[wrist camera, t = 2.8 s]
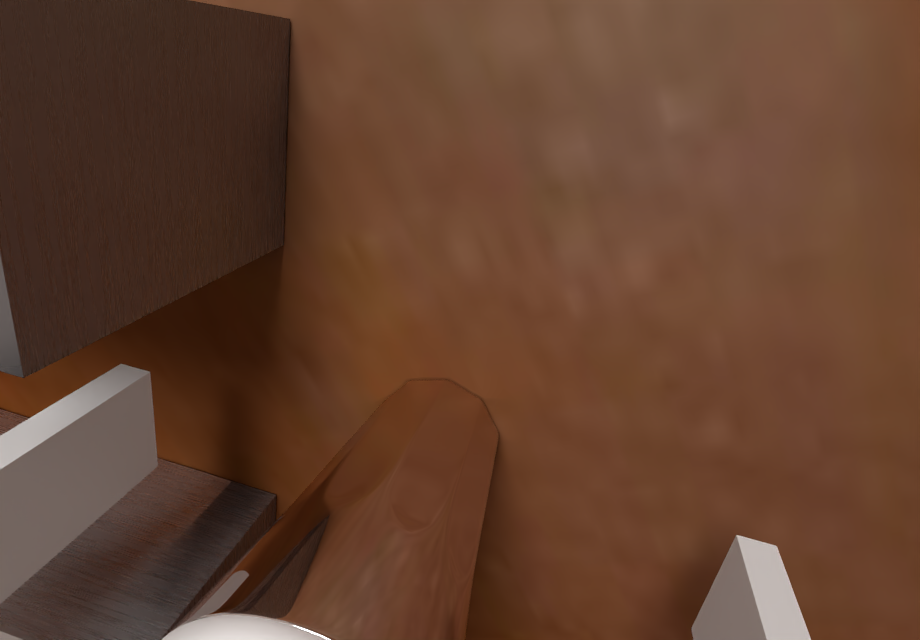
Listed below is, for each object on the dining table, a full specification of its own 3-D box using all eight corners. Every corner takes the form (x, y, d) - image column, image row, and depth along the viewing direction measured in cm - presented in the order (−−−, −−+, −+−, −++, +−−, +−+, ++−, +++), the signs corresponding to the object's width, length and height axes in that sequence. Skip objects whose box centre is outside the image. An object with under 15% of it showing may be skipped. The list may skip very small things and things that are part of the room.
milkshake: (563, 506, 15) (496, 1124, 6) (375, 497, 17) (100, 989, 8) (548, 349, 14) (429, 877, 5) (342, 355, 15) (-55, 765, 6)
